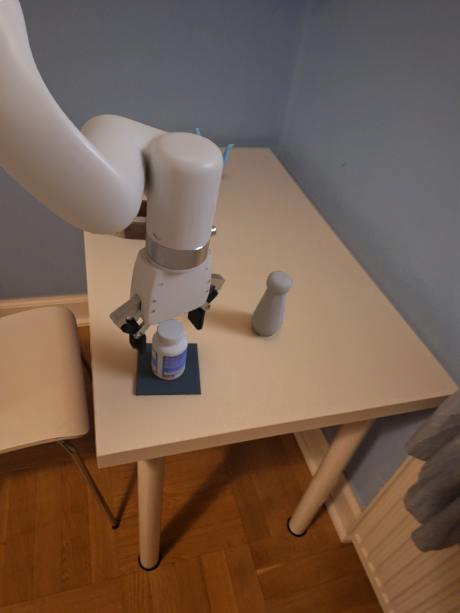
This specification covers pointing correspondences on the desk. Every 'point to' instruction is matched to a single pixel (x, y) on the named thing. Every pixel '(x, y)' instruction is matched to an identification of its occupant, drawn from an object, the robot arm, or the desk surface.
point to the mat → (178, 386)
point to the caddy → (138, 225)
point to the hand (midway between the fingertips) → (167, 335)
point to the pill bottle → (169, 350)
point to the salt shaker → (272, 304)
